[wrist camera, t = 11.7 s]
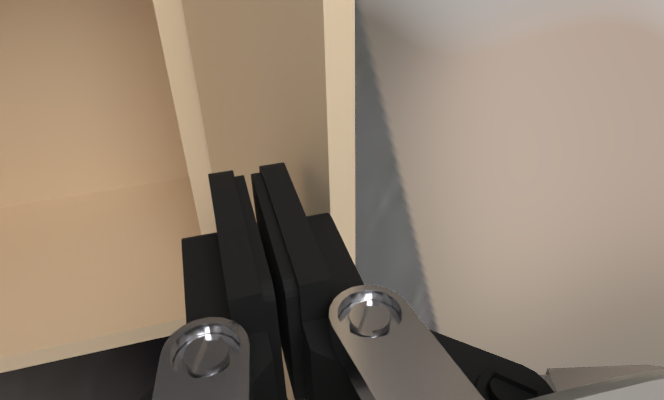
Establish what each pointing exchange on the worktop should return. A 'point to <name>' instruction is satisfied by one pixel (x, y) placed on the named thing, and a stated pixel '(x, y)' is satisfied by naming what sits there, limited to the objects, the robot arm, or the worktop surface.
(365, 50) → the worktop surface
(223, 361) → the robot arm
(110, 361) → the worktop surface
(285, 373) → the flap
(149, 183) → the carton
